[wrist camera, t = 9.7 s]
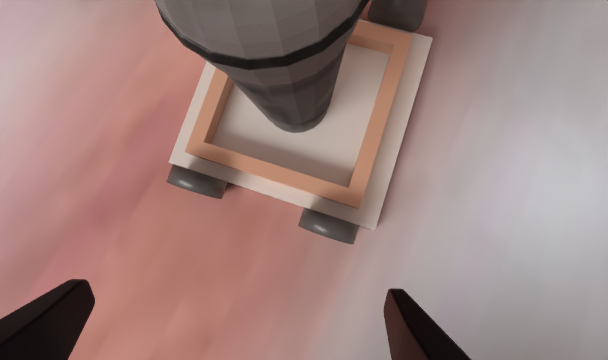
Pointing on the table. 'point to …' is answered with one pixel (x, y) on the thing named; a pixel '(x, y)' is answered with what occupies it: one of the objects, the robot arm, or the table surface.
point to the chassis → (314, 130)
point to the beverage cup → (271, 49)
